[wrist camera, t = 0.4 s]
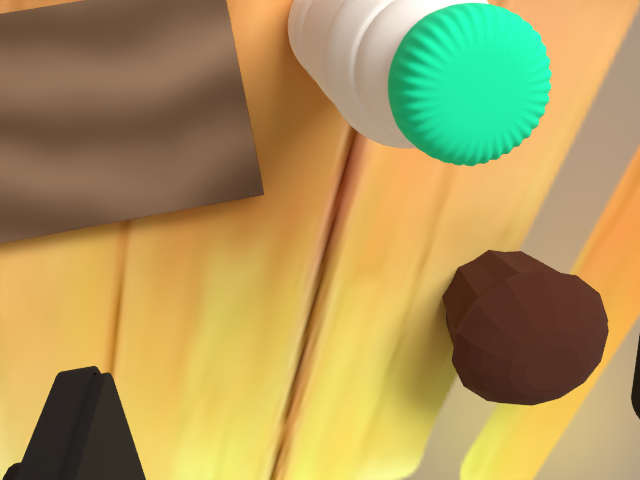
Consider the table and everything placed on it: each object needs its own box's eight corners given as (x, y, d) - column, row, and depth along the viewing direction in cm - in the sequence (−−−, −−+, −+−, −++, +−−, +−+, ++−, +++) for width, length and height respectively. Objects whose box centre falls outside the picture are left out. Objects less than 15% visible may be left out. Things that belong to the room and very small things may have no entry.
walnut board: (-107, 31, 37) (-120, 33, 35) (221, -22, 38) (221, -22, 37) (-20, 239, 42) (-28, 248, 41) (263, 187, 44) (264, 194, 42)
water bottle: (393, -34, 39) (620, -47, 16) (391, 78, 42) (582, 200, 19) (283, -31, 38) (361, -39, 16) (289, 83, 41) (362, 218, 18)
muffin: (434, 368, 52) (477, 451, 43) (415, 256, 48) (459, 322, 39) (566, 334, 53) (636, 408, 44) (560, 219, 48) (636, 275, 39)
